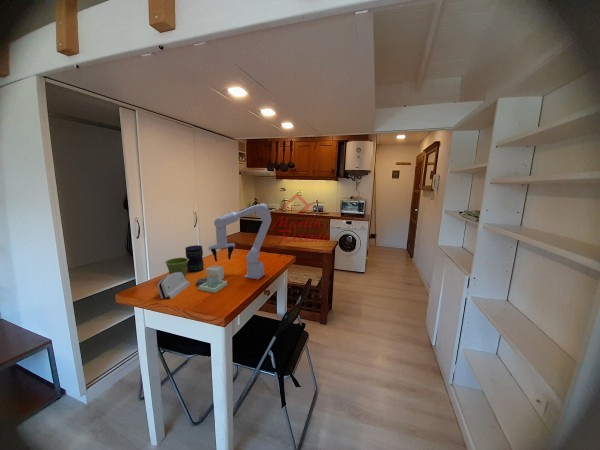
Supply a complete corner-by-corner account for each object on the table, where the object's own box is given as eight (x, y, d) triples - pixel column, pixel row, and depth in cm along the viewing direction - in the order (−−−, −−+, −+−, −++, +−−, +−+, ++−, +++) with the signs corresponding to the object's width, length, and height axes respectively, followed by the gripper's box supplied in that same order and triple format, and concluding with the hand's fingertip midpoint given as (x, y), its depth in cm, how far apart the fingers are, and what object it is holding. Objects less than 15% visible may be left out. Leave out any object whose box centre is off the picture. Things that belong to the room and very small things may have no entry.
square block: (208, 282, 125) (208, 278, 125) (205, 286, 120) (205, 282, 120) (199, 282, 125) (199, 278, 124) (196, 286, 120) (195, 282, 119)
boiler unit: (224, 278, 131) (223, 266, 129) (217, 282, 125) (216, 270, 124) (212, 276, 133) (211, 265, 132) (205, 280, 127) (204, 268, 126)
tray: (227, 284, 121) (227, 281, 121) (214, 293, 112) (214, 289, 112) (212, 282, 125) (211, 278, 124) (198, 290, 115) (198, 286, 115)
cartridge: (218, 285, 120) (218, 274, 118) (213, 288, 116) (213, 276, 115) (212, 284, 121) (212, 273, 120) (207, 287, 117) (206, 275, 116)
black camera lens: (206, 267, 148) (205, 245, 145) (199, 272, 138) (198, 249, 136) (191, 267, 148) (190, 245, 145) (183, 272, 138) (182, 249, 136)
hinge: (170, 299, 106) (162, 280, 104) (162, 301, 106) (153, 283, 105) (190, 284, 122) (183, 267, 121) (182, 286, 123) (175, 270, 121)
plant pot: (174, 285, 120) (173, 265, 119) (162, 280, 126) (160, 261, 124) (194, 277, 131) (193, 259, 129) (182, 273, 136) (180, 256, 134)
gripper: (209, 240, 123) (211, 264, 125) (235, 237, 130) (236, 260, 133) (207, 238, 129) (208, 260, 131) (232, 235, 136) (233, 256, 139)
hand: (222, 260), depth 132 cm, fingers open, 7 cm apart
